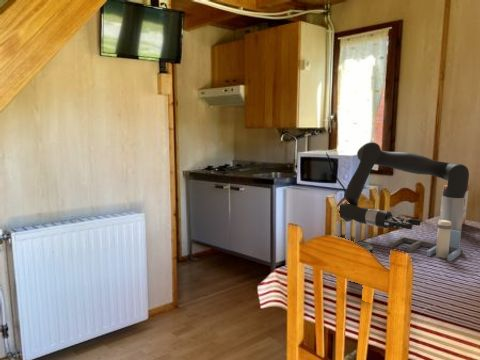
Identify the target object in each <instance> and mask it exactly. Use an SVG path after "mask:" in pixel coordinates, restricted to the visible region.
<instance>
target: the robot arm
mask: <svg viewBox="0 0 480 360" xmlns="http://www.w3.org/2000/svg"><path fill="white" fill-rule="evenodd" d="M356 156H357V158H358V160H359V164H358V166H357V168H356V170H355V172H354V173H353V175H352V176H351V178H350V180H349V182H348V184H347V187H346V190H345V192H344V195H343V198H344V200H345V199H346V200H347V201H348V202H349V203H350V204H347V203H345V202H343V203H340V204H341V205H340V211H339V213H340V217H341V218H343V219H344V220H345V221H344V220H343V221H344V222H348V223H349V222H352V220H353V221H355V222H358V223H360V224H364V225H369V226H371V227H377V228H382V229H389V228H391V229H396V230H398V229H405V230H412V229H413V226H417V227H418V226H421V222H422V221H421V220H420V219H415V218H413V217H412V216H406V215H399V214H398V215H394V216H393V215H392V214H393V213H392V212H391V211H388V210H383V209H377V208H365V207H360V206H358V204H359V199H360V197H361V195H362V192H363V191H364V187H365V186H366V183H367V180H368V178H369V175H370V173H371V172H372V170H373V168H374V166H375V165H376V166H383V167H387V168H389V169H394V170H398V171H402V172H405V173H410V174H416V175H429V176H433V177H437V178H440V179H443V180H445V181H447V184H446V185H447V188H446V189H445V190H444V191H443V200H442V210H441V211H440V210H439V217H440V220H446V221H450V222H451V225H452V228H451V230H456V231H461V232H462V228H463V224H462V220H463V209H464V198H465V193H466V191H467V187H468V186H469V179H470V173H469V172H470V171H469V168H468V167H467V166H466V165H465V164H462V163H457V162H456V163H455V162H445V161H439V160H438V161H437V160H434V159H432V158H429V157H426V156H425V155H420V154H416V153H412V152H407V151H385V150H382V149H381V146H380V145H379V144H378V143H377V142H374V141H370V142H366V143H365V144H363V145H362V146H361V147H360V148H359V149H358V150H357V151H356ZM341 218H340V219H341Z"/></svg>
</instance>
